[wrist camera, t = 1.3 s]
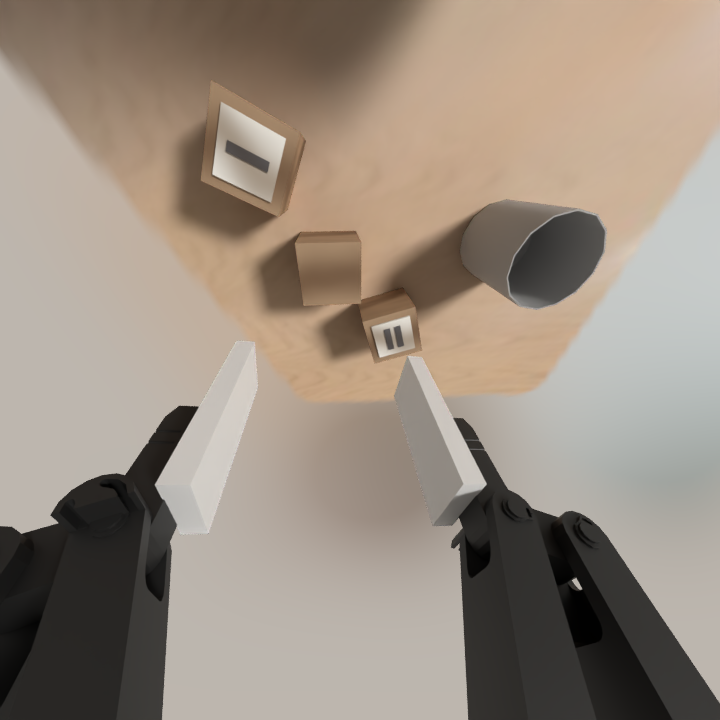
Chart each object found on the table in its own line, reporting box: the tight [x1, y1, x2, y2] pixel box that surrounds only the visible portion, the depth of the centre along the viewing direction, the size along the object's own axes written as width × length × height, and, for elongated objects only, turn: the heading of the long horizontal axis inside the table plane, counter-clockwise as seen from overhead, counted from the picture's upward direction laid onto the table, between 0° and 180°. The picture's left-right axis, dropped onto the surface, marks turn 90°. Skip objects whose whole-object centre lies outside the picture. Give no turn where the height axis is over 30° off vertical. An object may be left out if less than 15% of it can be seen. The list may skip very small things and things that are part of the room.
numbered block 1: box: [201, 80, 306, 217], centre depth 22 cm, size 6×6×6 cm
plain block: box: [295, 231, 361, 306], centre depth 27 cm, size 6×6×6 cm
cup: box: [460, 199, 607, 310], centre depth 26 cm, size 8×8×10 cm
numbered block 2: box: [358, 288, 422, 363], centre depth 32 cm, size 6×6×6 cm
